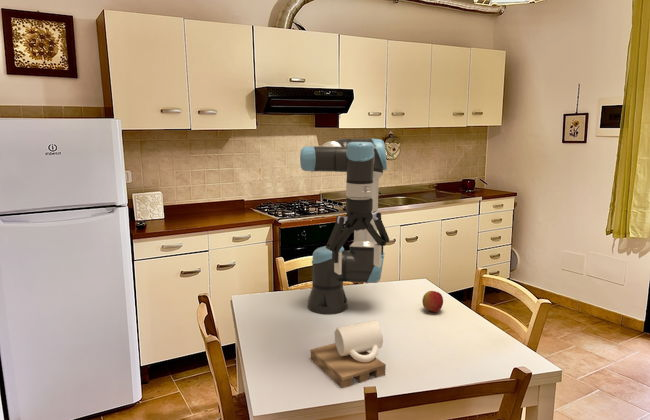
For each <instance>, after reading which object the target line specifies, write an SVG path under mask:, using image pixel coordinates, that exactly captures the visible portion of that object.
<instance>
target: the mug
mask: <svg viewBox="0 0 650 420" xmlns="http://www.w3.org/2000/svg"><path fill="white" fill-rule="evenodd" d="M334 342H335V343H336V347H337V350H338V352H339V354H340V355H341V356H346V355H351V357H353V358H354V359H355V360H357V361H360V362H370V361H372V360H373V359H374V358H375V357H376V358H377V356H378V353H379V349H381V348H382V347H383V343H384V335H383V332H382V327H381V326H380V324H379V323H378V321H376V320H371V321H365V322H361V323H355V324H350V325H346V326H341V327H337V328H335V330H334ZM365 351H367V352H369V351H370V352H369V353H370V354H368V355H360V354H358V353H360V352H365Z"/></svg>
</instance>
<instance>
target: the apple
mask: <svg viewBox="0 0 650 420" xmlns="http://www.w3.org/2000/svg"><path fill="white" fill-rule="evenodd" d="M443 304H444V297H443V295H442V294H441V292H438V291H435V290H428V291H427V292H426V293H424V294H423V297H422V306H423V308H424V309H426V310H428V311H430V312H432V313H438V312H439V311H440V310H441V309H442V307H443Z"/></svg>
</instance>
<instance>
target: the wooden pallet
mask: <svg viewBox="0 0 650 420" xmlns="http://www.w3.org/2000/svg"><path fill="white" fill-rule="evenodd" d="M370 353H371V352H369V351H365V352H360V353H358V354H360V355H368V354H370ZM310 360H311V361H312V362H313V363H314V364H316V365H317V366H318V367H319V368H320V369H321V370H322V371H323V372H324V373H326V375H328V377H329V378H331V379H332V380H333V381H334V382H335V383H337V385H339V386H340V387H341V388H342V389H344V388H347V387H351V386H353V378H354V379H355V380H356V381H357V382H358V383H364V382H367V381H369V380H370V374H371V375H373V376H374V377H375V378H378V377H382V376H385V375H386V369H387V368H386V365H387V364H385V363H384V362H382V361H381V360H380V359H378V358H377V356H376V357H375V358H374V359H373V360H372V361H370V362H360V361H357V360H355V359H354V358H353V357H351V355H346V356H341V355H340V354H339V352H338V350H337V347H336V343H330V344H327V345H323V346H322V345H321V346H320V347H315V348H311V349H310Z"/></svg>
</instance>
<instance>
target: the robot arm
mask: <svg viewBox="0 0 650 420" xmlns="http://www.w3.org/2000/svg"><path fill="white" fill-rule="evenodd" d="M387 162H388V161H387V153H386V146H385V142H384V140H383V139H381V138H380V139H379V138H373V137H371V138H346V137H345V138H338V139H333V140H329V141H327V142H324V143H323V144H322V145H319V146H318V145H317V146H313V145H309V146H308V145H307V146H302V148H301V149H300V154H299V163H300V164H299V165H300V168H301V170H302V171H304V172H310V173H311V172H312V173H314V172H324V173H325V172H328V173H329V172H335V173H336V172H337V173H346V179H345V180H346V181H345V182H346V183H345V184H346V185H345V186H346V187H345V196H346V199H345V210H346V215H345V216H340V215H336V217H335V224H334V226H333V228H332V231H331V234H330V235H329V238H328V240H327V242H326V245H324V246H320V247H317V248H316V249H315V250H314V251H313V252H312V259H311V260H312V261H311V265H312V272H311V273H312V285H311V286H312V287H311V291H310V293H309V295H308V300H307V308H308V310H310V311H311V312H314V313H317V314H322V315H323V314H324V315H333V314H339V313H342V312H344V311H346V310H347V309H348V299H347V296H346V293H345V290H344V282H345V283H346V282H347V283H363V284H364V283H365V284H377V283H379V282H380V280H381V277H382V272H383V265H384V258H385V252H384V247H385V246H386V245H387V243H389V242H390V238H389V235H388V232H387V230H386V227H385V225H384V223H383V220H382V214H381V212H379V190H380V189H379V185H380V183H379V182H380V178H381V177H382V176H383V175H384V171H386V170H387V169H388V164H387ZM344 224H345V226H344ZM352 234H353V242H352V243H351V244H350V245H349V250H345V248H344V244H345V243H346V242H347V240H348V239H349V237H350V236H351V235H352Z"/></svg>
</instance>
